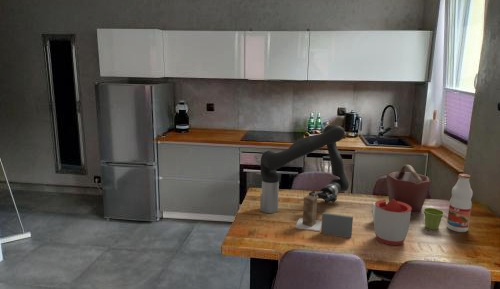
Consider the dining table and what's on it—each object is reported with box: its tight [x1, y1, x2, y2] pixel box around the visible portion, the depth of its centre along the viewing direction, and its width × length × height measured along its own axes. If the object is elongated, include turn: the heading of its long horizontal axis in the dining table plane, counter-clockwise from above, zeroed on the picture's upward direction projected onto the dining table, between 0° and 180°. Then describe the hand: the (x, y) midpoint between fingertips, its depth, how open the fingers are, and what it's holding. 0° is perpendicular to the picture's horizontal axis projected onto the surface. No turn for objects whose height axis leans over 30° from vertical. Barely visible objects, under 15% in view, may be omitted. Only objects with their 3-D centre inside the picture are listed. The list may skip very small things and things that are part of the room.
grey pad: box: [294, 217, 322, 233], centre depth 186 cm, size 12×12×1 cm
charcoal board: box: [320, 212, 354, 239], centre depth 174 cm, size 14×2×10 cm, turn 72°
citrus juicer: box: [373, 199, 412, 246], centre depth 170 cm, size 16×17×20 cm
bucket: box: [386, 164, 431, 214], centre depth 210 cm, size 24×22×25 cm
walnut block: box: [302, 194, 318, 227], centre depth 184 cm, size 5×5×14 cm
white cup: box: [372, 201, 388, 224], centre depth 190 cm, size 8×8×10 cm
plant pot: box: [423, 207, 445, 231], centre depth 185 cm, size 9×9×9 cm
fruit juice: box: [446, 173, 474, 233], centre depth 182 cm, size 9×9×28 cm
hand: (317, 200), depth 191 cm, fingers open, 8 cm apart
